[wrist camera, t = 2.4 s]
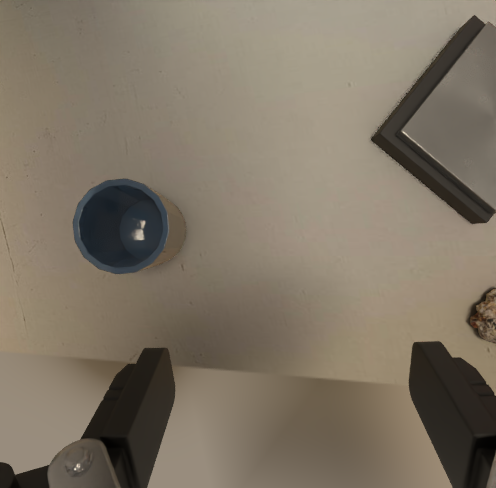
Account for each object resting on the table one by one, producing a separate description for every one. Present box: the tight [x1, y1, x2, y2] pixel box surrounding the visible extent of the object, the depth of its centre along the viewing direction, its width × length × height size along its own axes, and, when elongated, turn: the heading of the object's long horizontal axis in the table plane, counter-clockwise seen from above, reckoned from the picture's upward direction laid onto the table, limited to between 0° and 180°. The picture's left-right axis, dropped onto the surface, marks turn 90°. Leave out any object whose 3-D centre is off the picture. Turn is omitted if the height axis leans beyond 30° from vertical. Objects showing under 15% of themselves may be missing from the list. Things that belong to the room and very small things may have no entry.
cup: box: [73, 179, 186, 274], centre depth 28 cm, size 6×6×9 cm
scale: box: [371, 15, 496, 224], centre depth 32 cm, size 12×13×3 cm
